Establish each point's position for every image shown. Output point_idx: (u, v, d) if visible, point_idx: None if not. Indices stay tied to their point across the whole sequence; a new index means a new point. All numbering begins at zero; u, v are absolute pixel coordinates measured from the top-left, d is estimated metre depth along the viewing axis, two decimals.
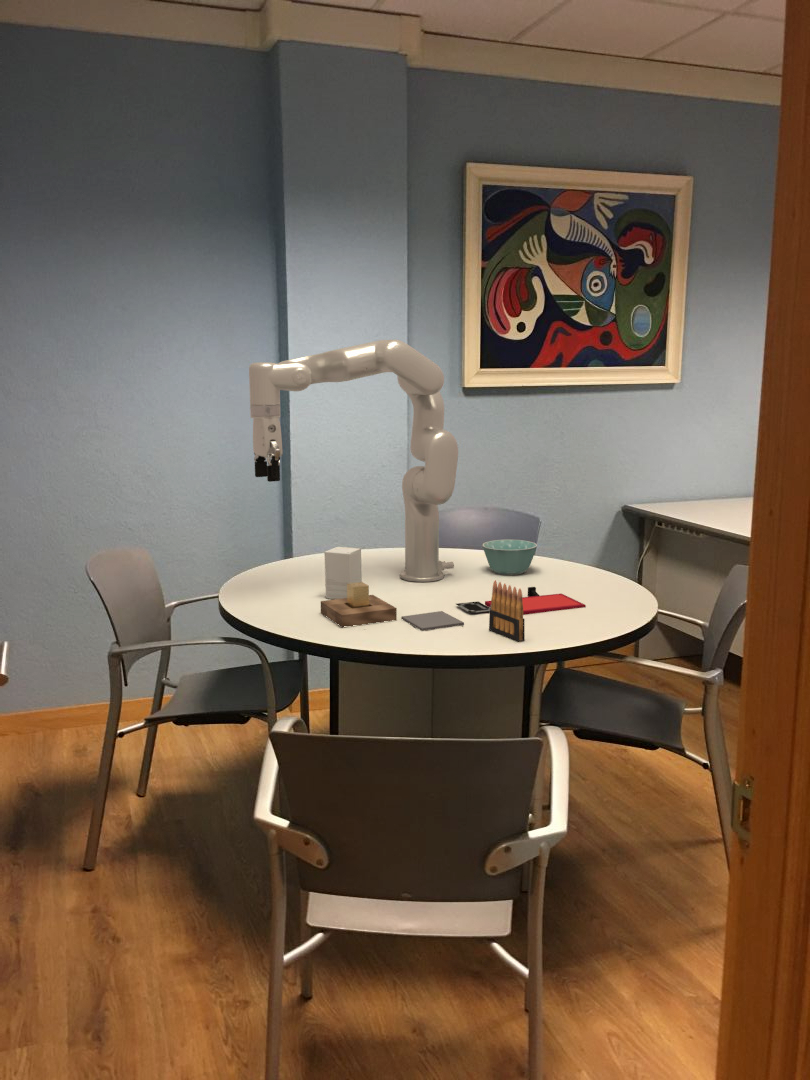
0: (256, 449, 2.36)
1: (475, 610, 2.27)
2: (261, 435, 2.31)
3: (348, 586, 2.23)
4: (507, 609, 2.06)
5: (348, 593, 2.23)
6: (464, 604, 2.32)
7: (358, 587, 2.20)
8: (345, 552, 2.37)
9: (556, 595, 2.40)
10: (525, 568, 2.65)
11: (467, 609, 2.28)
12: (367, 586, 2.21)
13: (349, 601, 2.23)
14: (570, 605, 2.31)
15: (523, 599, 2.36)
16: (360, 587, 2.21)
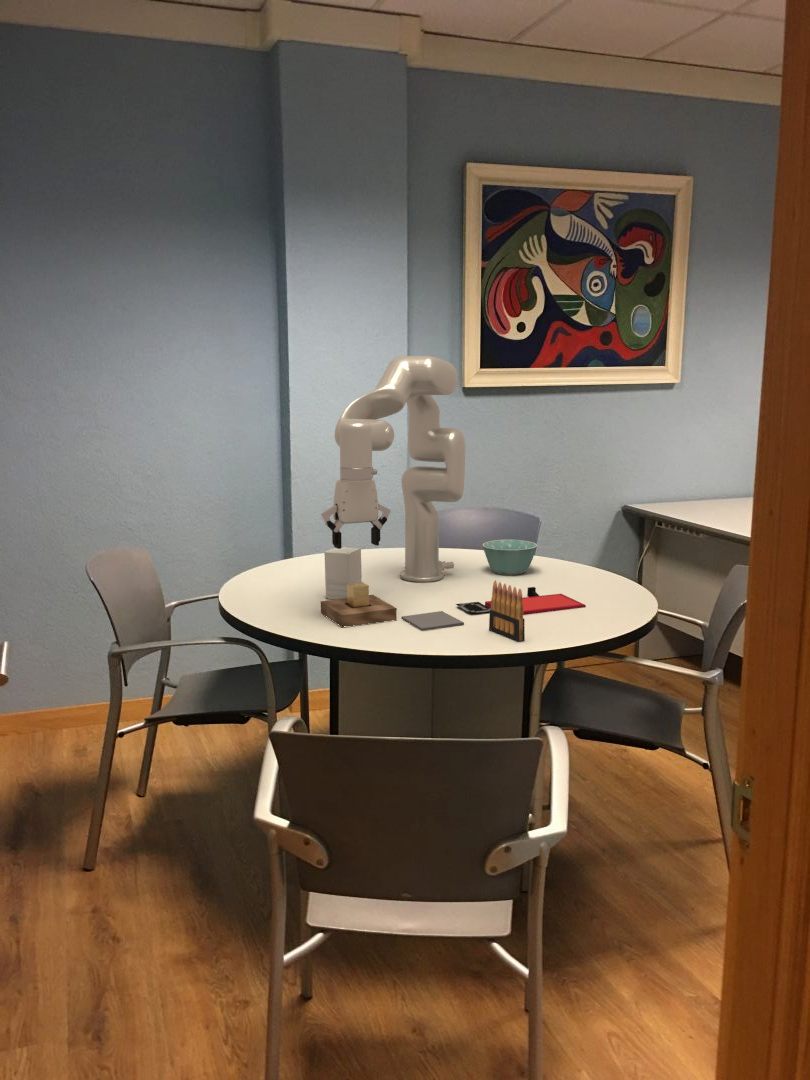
0: (354, 516, 2.16)
1: (475, 610, 2.27)
2: (372, 498, 2.17)
3: (348, 586, 2.23)
4: (507, 609, 2.06)
5: (348, 593, 2.23)
6: (465, 604, 2.32)
7: (358, 587, 2.20)
8: (345, 552, 2.37)
9: (556, 595, 2.40)
10: (525, 568, 2.65)
11: (467, 609, 2.28)
12: (367, 586, 2.21)
13: (349, 601, 2.23)
14: (570, 605, 2.31)
15: (523, 599, 2.35)
16: (360, 587, 2.21)
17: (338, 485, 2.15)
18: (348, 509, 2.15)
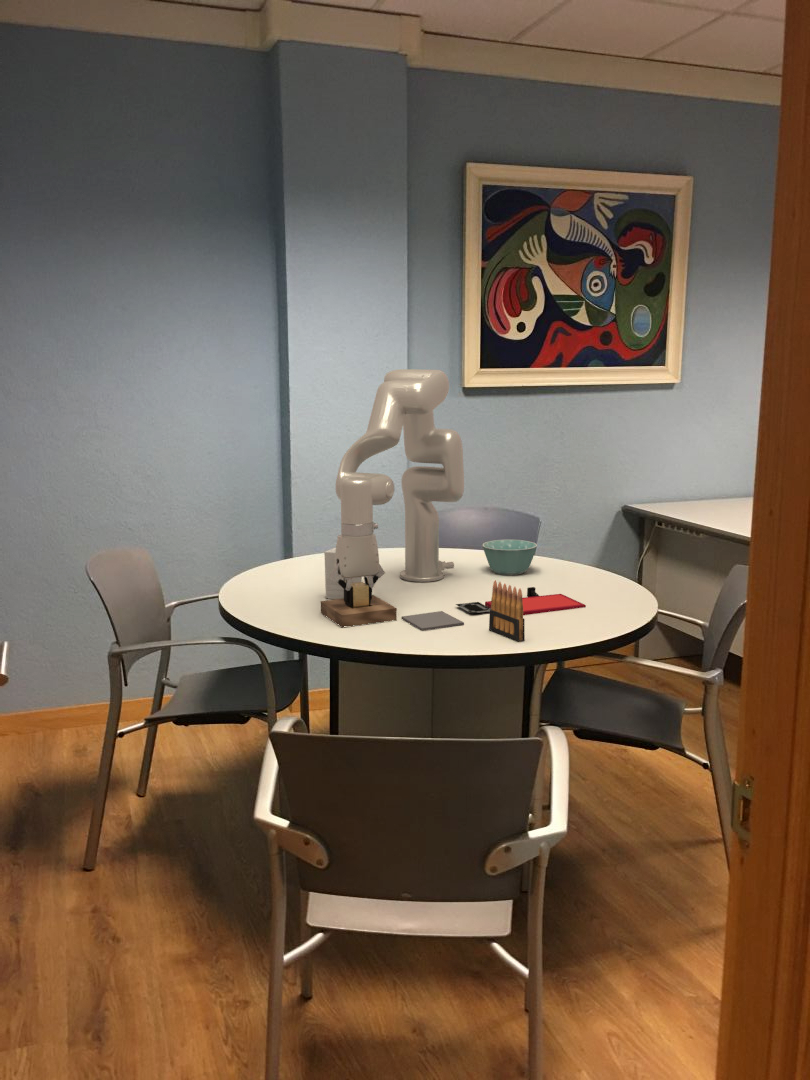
0: (355, 571, 2.19)
1: (476, 610, 2.26)
2: (373, 552, 2.20)
3: None
4: (507, 609, 2.06)
5: None
6: (465, 604, 2.32)
7: (358, 587, 2.20)
8: None
9: (556, 595, 2.40)
10: (525, 568, 2.65)
11: (467, 609, 2.27)
12: (367, 586, 2.21)
13: None
14: (570, 605, 2.31)
15: (523, 599, 2.35)
16: (360, 587, 2.21)
17: (339, 541, 2.18)
18: (349, 564, 2.18)
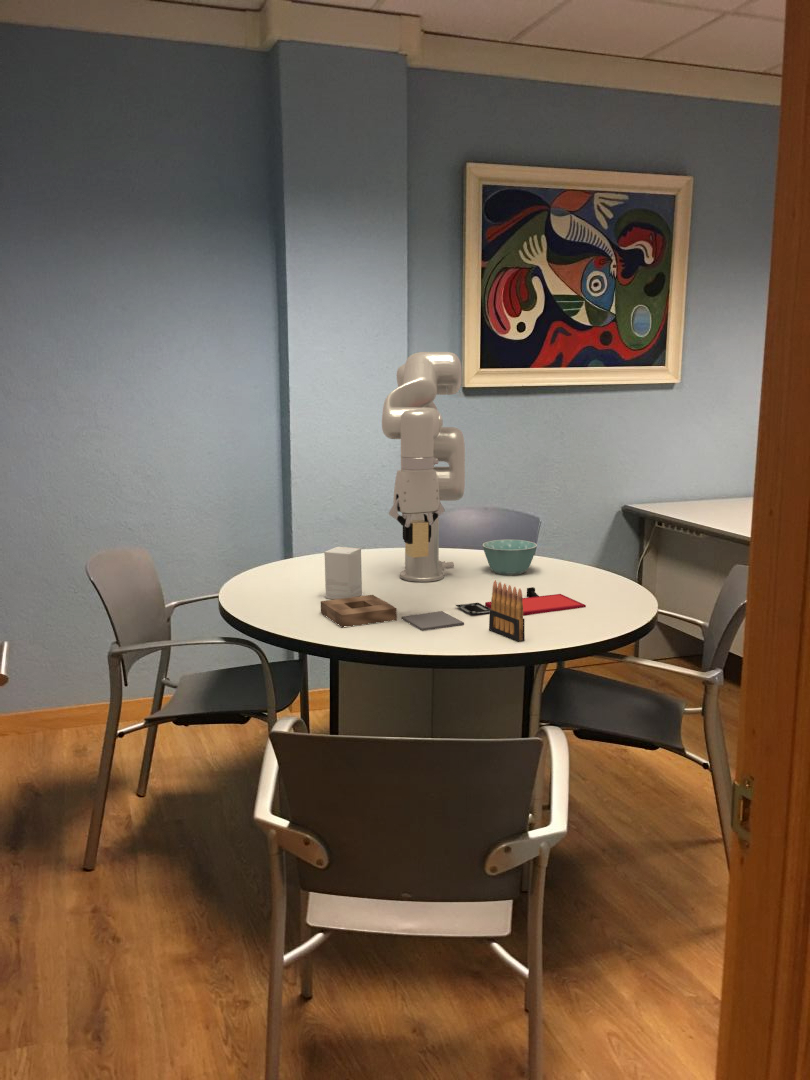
0: (415, 507, 2.12)
1: (476, 611, 2.26)
2: (434, 488, 2.13)
3: None
4: (507, 609, 2.06)
5: None
6: (465, 605, 2.31)
7: (417, 524, 2.14)
8: (345, 552, 2.37)
9: (555, 595, 2.40)
10: (525, 568, 2.65)
11: (468, 610, 2.27)
12: (427, 523, 2.15)
13: None
14: (570, 605, 2.31)
15: (523, 600, 2.35)
16: (420, 524, 2.14)
17: (399, 475, 2.11)
18: (409, 499, 2.11)
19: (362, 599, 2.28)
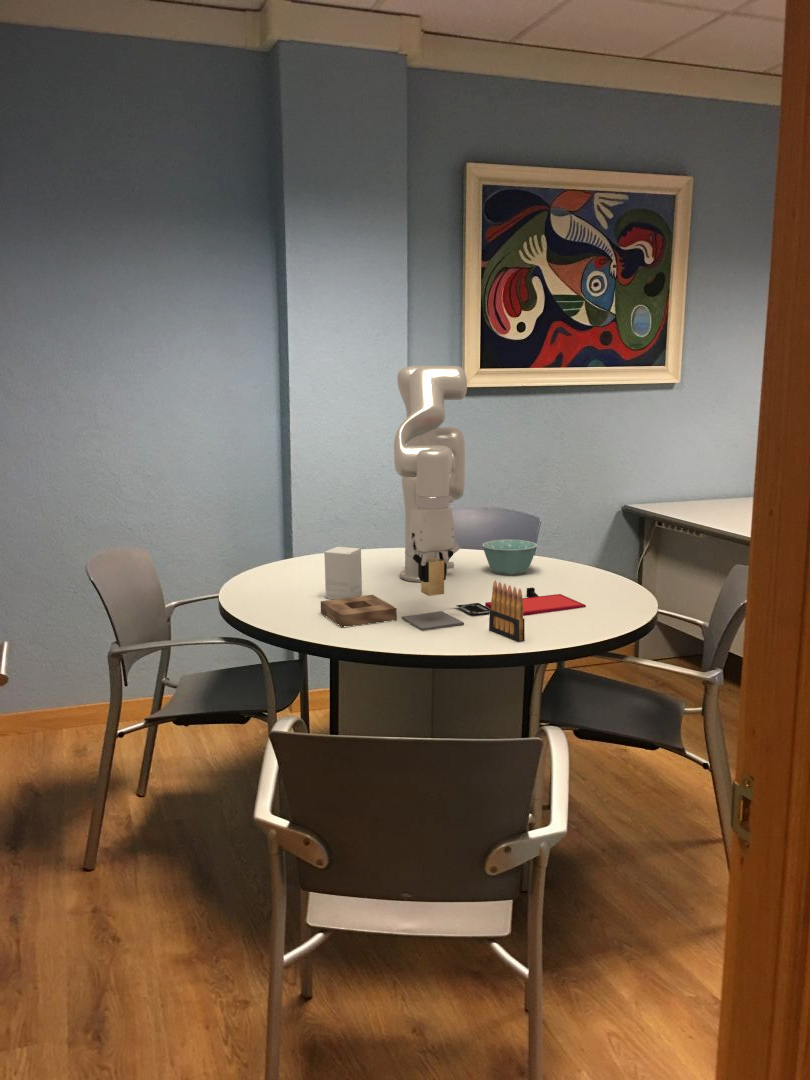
0: (431, 545, 2.13)
1: (477, 611, 2.26)
2: (449, 527, 2.14)
3: None
4: (507, 609, 2.06)
5: None
6: (465, 605, 2.31)
7: (433, 562, 2.14)
8: (345, 552, 2.37)
9: (555, 596, 2.40)
10: (525, 568, 2.65)
11: (468, 610, 2.27)
12: (442, 561, 2.15)
13: None
14: (571, 605, 2.31)
15: (523, 600, 2.35)
16: (436, 562, 2.14)
17: (415, 514, 2.12)
18: (425, 538, 2.12)
19: (362, 599, 2.28)
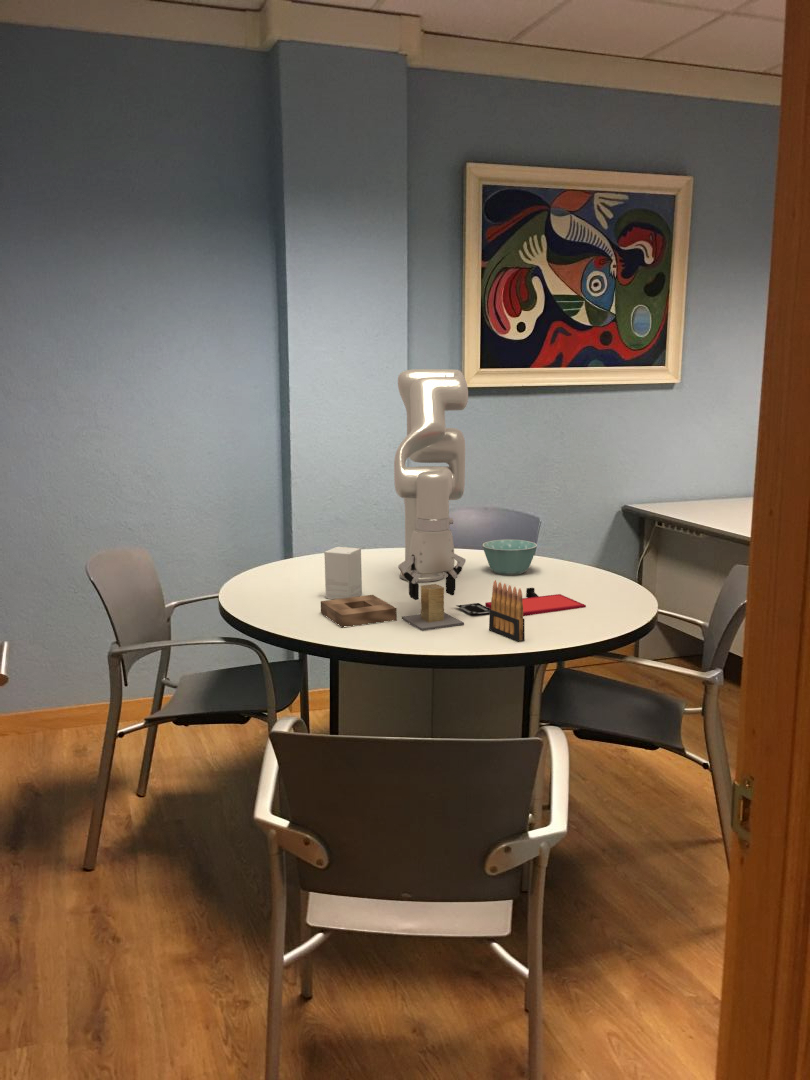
0: (431, 567, 2.14)
1: (477, 612, 2.25)
2: (449, 548, 2.15)
3: (422, 588, 2.18)
4: (507, 609, 2.06)
5: (422, 595, 2.18)
6: (465, 605, 2.31)
7: (433, 589, 2.16)
8: (345, 552, 2.37)
9: (555, 596, 2.40)
10: (525, 568, 2.65)
11: (468, 610, 2.26)
12: (442, 588, 2.17)
13: (424, 604, 2.18)
14: (571, 605, 2.31)
15: (523, 600, 2.35)
16: (436, 589, 2.16)
17: (415, 536, 2.13)
18: (425, 560, 2.13)
19: (362, 599, 2.28)
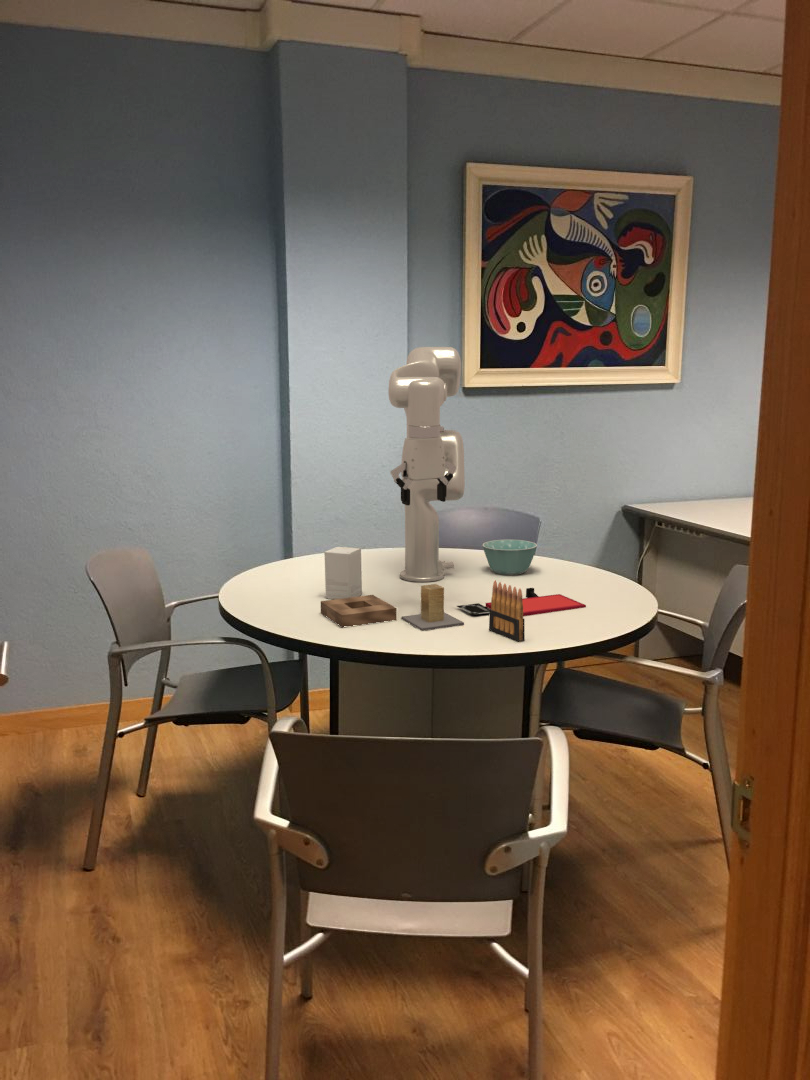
0: (422, 473, 2.21)
1: (477, 612, 2.25)
2: (440, 455, 2.22)
3: (422, 588, 2.18)
4: (507, 609, 2.06)
5: (422, 595, 2.18)
6: (465, 606, 2.30)
7: (433, 589, 2.16)
8: (345, 552, 2.37)
9: (555, 596, 2.39)
10: (525, 568, 2.65)
11: (469, 611, 2.26)
12: (442, 588, 2.17)
13: (424, 604, 2.18)
14: (571, 605, 2.31)
15: (523, 600, 2.35)
16: (436, 589, 2.16)
17: (407, 443, 2.19)
18: (417, 466, 2.20)
19: (362, 599, 2.28)
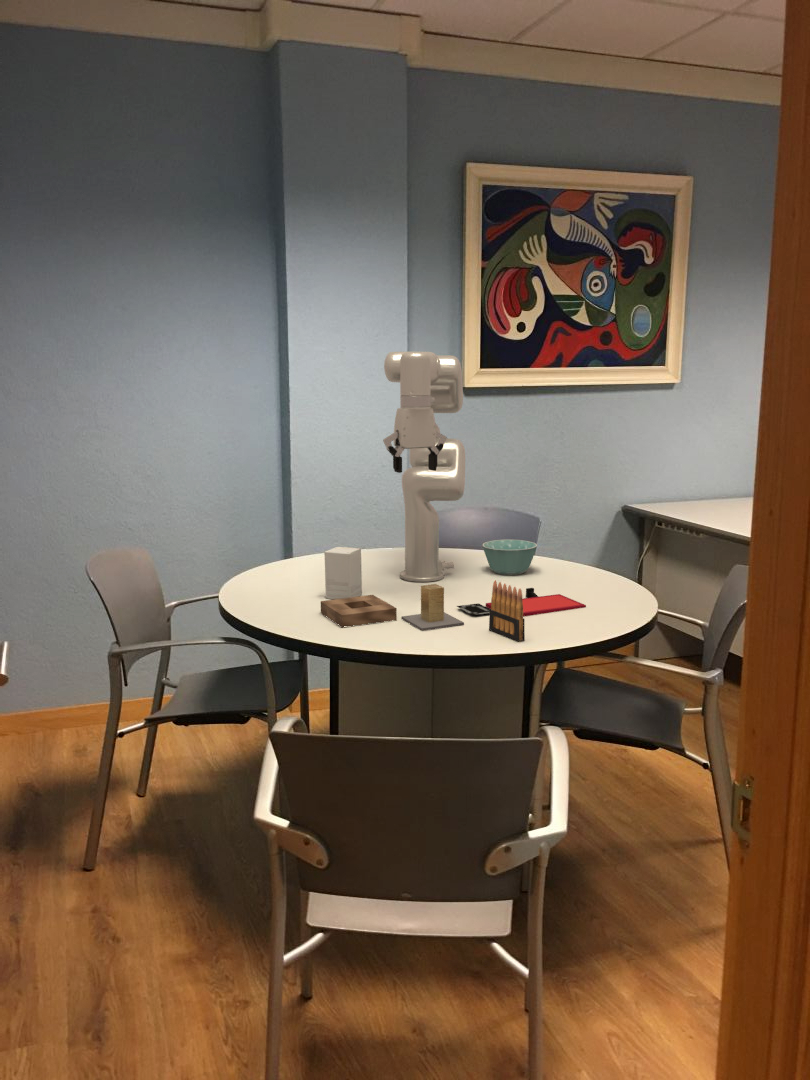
0: (414, 442, 2.30)
1: (478, 612, 2.25)
2: (431, 425, 2.31)
3: (422, 588, 2.18)
4: (507, 609, 2.06)
5: (422, 595, 2.18)
6: (466, 606, 2.30)
7: (433, 589, 2.16)
8: (345, 552, 2.37)
9: (555, 596, 2.39)
10: (525, 568, 2.65)
11: (469, 611, 2.26)
12: (442, 588, 2.17)
13: (424, 604, 2.18)
14: (571, 606, 2.31)
15: (523, 600, 2.35)
16: (436, 589, 2.16)
17: (399, 412, 2.29)
18: (408, 435, 2.29)
19: (362, 599, 2.28)
